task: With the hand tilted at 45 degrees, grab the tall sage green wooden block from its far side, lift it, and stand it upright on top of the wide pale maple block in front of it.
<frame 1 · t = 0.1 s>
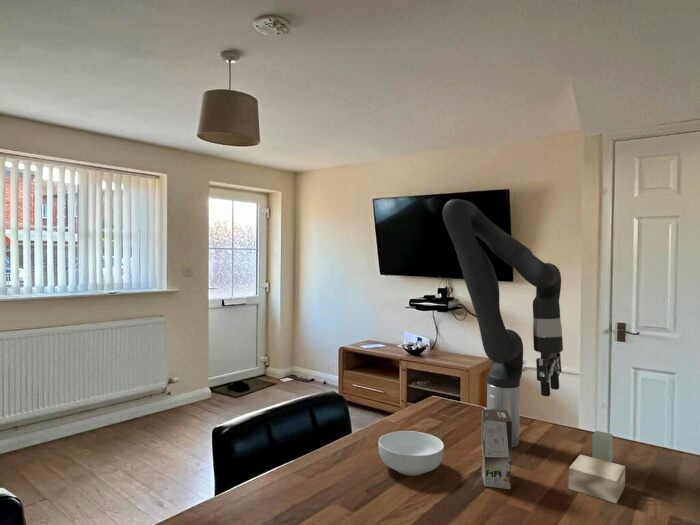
hand: (550, 392, 129), 17 cm above the table, tool pointing down, fingers open, 8 cm apart
coffee box: (495, 480, 114), on the table
maple block: (596, 487, 111), on the table
sage block: (602, 464, 123), on the table
cereal bowl: (410, 469, 120), on the table
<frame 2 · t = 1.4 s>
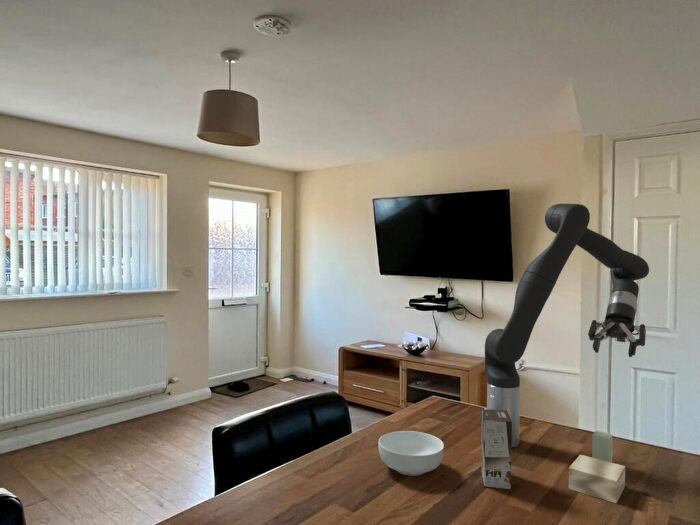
hand: (612, 353, 131), 28 cm above the table, tool tilted 45°, fingers open, 8 cm apart
nothing on the table moved.
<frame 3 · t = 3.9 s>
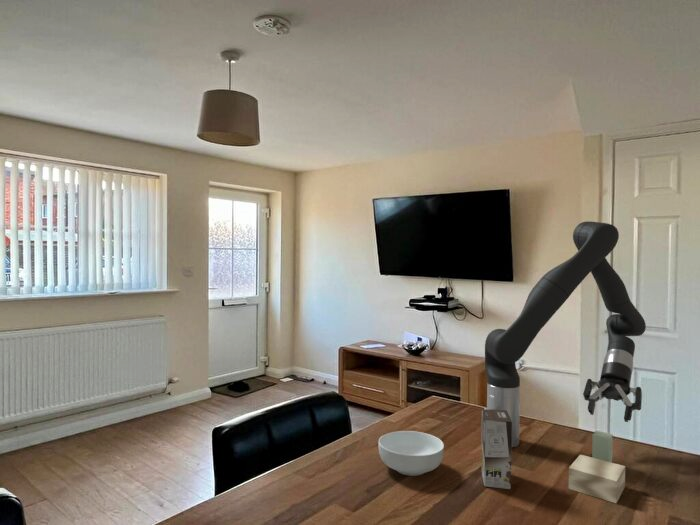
hand: (608, 416, 128), 11 cm above the table, tool tilted 45°, fingers open, 8 cm apart
nothing on the table moved.
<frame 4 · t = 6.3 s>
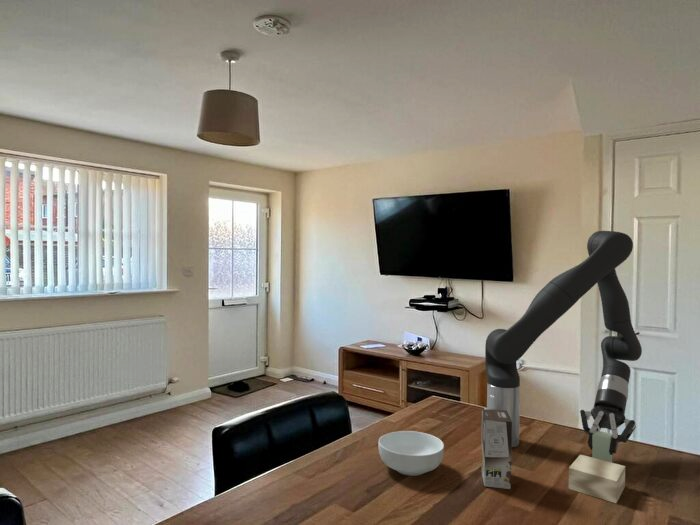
hand: (601, 450, 122), 4 cm above the table, tool tilted 45°, fingers closed on sage block, 4 cm apart
sage block: (602, 464, 123), on the table, touching gripper
everything else where it was.
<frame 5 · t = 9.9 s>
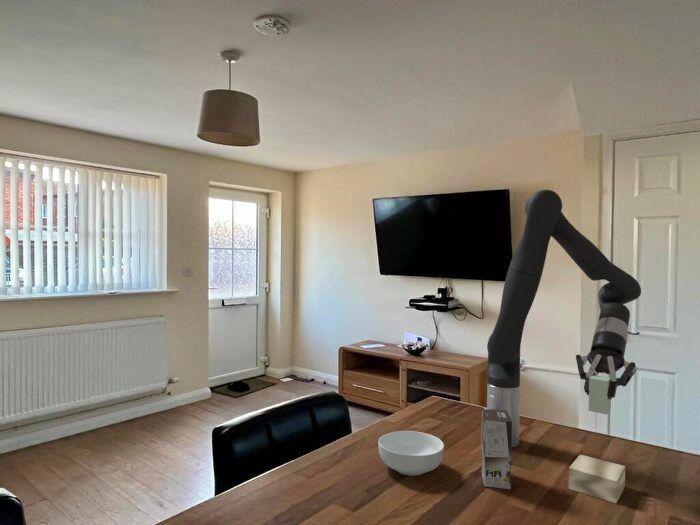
hand: (598, 395, 112), 22 cm above the table, tool tilted 45°, fingers closed on sage block, 4 cm apart
sage block: (599, 410, 113), point 18 cm above the table, touching gripper
everything else where it was.
when the fingers open (10 cm above the table, at t = 13.3 s): sage block drops 1 cm, resting on maple block.
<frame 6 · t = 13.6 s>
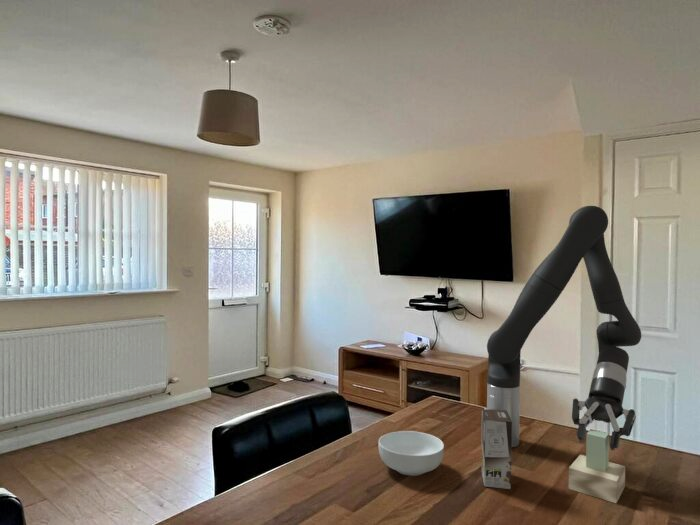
hand: (596, 444, 110), 11 cm above the table, tool tilted 45°, fingers open, 6 cm apart
sage block: (597, 466, 111), point 5 cm above the table, touching maple block
everything else where it was.
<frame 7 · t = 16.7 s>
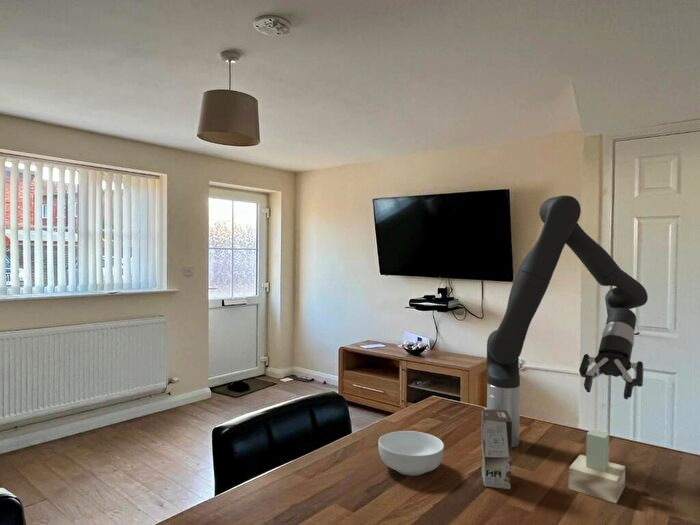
hand: (606, 394, 117), 21 cm above the table, tool tilted 45°, fingers open, 8 cm apart
nothing on the table moved.
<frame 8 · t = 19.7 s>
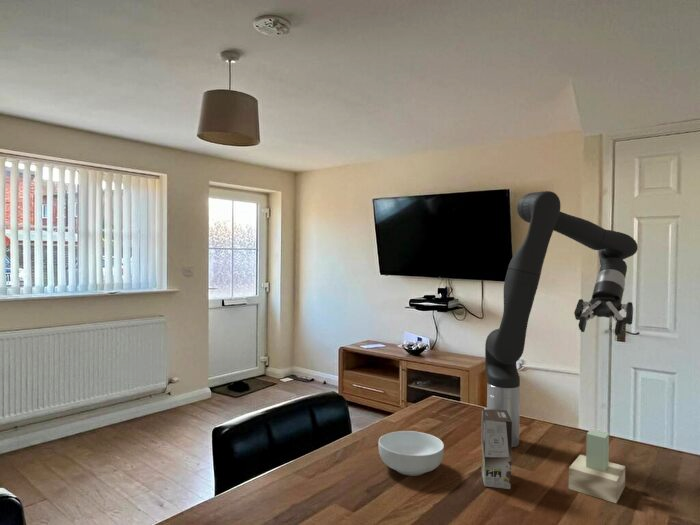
hand: (599, 332, 127), 35 cm above the table, tool tilted 45°, fingers open, 8 cm apart
nothing on the table moved.
at the end: sage block 0.1 cm off-centre on the maple block, point 5.0 cm above the maple block's base; sage block tilted 0°; the gripper is holding nothing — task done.
